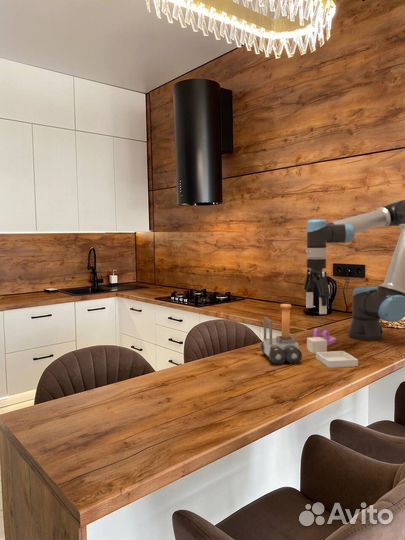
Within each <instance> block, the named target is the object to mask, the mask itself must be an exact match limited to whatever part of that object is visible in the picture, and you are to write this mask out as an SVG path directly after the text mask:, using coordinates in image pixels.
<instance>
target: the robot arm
mask: <svg viewBox="0 0 405 540" xmlns="http://www.w3.org/2000/svg"><path fill="white" fill-rule="evenodd" d="M380 227H381V228H384V229H385V228H389V227H399V228H400V230H401V231H400V233H399V237H398V240H397V242H396V245H395V249H394V252H393V254H392V257H391V261H390V262H389V263H390V264H389V265H388V268H387V273H386V275H385V277H384V280H383V282H382V283H381V284H378V286H369V287H355V288H354V289H353V291H352V320H351V322H350V325H349V327H348V330H347V336H348V337H349V338H350V339H354V340H358V341H371V342H373V341H374V342H375V341H382V340H383V339H384V330H383V328H382V325H381V321H384V322H390V323H397V322H399V321H402V320H403V319H404V318H405V199H402V200H398V201H395V202H392V203H389V204H387V205H382V206H380V207H378V208H377V209H376V210H373V211H370V212H366V213H362V214H358V215H354V216H350V217H346V218H342V219H338V220H335V221H331V222H328V221H327V219H309V220H308V221H307V223H306V250H305V253H306V258H307V259H306V268H307V269H306V277H305V280H304V281H305V282H304V285H303V290H305V293H306V297H305V301H306V302H305V306H306V308H307V309H311V308H314V292H315V291H314V287H315V284H316V286H317V289H318V292H319V295H318V296H319V297H318V299H319V306H318V309H319V312H318V314H319V315H327V313H328V309H327V307H328V297H330V295H331V294H330V290H329V283H328V279H327V271H323V269H326V268H327V259H326V258H327V244H346V243H351V242H353V240H354V238H355V235H356V234H358V233H361V232H363V233H364V232H366V231H369V230H374V229H377V228H380Z"/></svg>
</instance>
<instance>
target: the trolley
mask: <svg viewBox="0 0 405 540" xmlns="http://www.w3.org/2000/svg"><path fill="white" fill-rule="evenodd" d="M267 323H268V324H269V332H268V333H269V336H268V338H267ZM262 339H263V340H262V342H261V344H260V352H262V353H263V354H264V356H267V357H268V359H269V360H270V362H271V363H272V364H274V366H275V365H276V366H280V365H283V364H284V363H285V362H286V361H287V362H288V363H289V364H291V365H296V364H298V363H300V362H301V361H302V359H303V353H302V351H301V350H300V349H299V348H300V347H299V345H300V344H299V343H298V342H297V341H296V338H295V337H293V336H292V335H290V339H282V335H276V336H275V338H273V320H272V319H269V318H268V317H267V316H264V317H263V338H262Z"/></svg>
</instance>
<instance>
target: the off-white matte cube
mask: <svg viewBox="0 0 405 540" xmlns="http://www.w3.org/2000/svg"><path fill="white" fill-rule="evenodd" d="M307 349H308V350H307ZM306 350H307V351H308V352H310V353H311V352H312V353H311V354H316V352H328V351H327V350H328V346H327V341H326V340H325V339H323V338H322V336H320V337H313V336H312V337H306Z"/></svg>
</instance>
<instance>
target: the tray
mask: <svg viewBox="0 0 405 540" xmlns="http://www.w3.org/2000/svg"><path fill="white" fill-rule="evenodd" d="M315 360H317V361H318V362H319V363H320V364H322V365H324V367H326V368H327V369H337V368H338V369H339V368H352V367H353V368H354V367H355V366H357V367H358V366H359V359H358V358H356V357H354V356H353V355H351V354H350V353H348V352H346V351H344V350H337V351H336V350H335V351H327V352H316V353H315ZM355 368H356V367H355Z"/></svg>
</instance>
